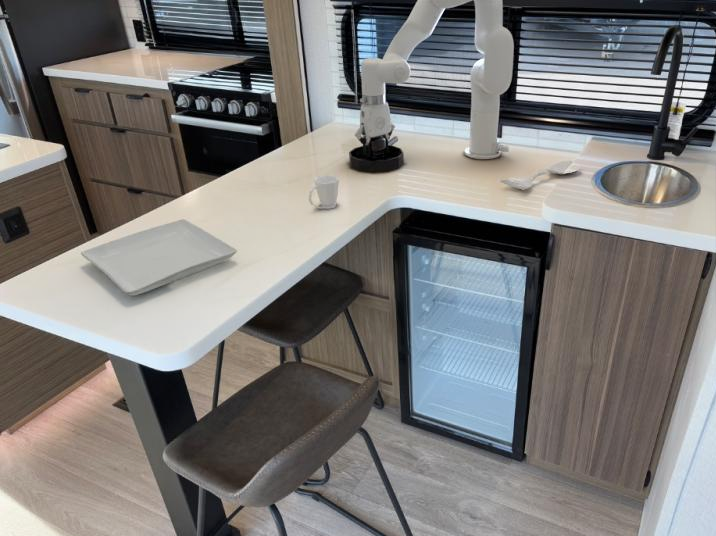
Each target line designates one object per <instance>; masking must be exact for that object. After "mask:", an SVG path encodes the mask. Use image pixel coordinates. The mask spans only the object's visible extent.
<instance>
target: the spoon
mask: <svg viewBox="0 0 716 536" xmlns="http://www.w3.org/2000/svg"><path fill="white" fill-rule="evenodd" d="M573 161H574V160H564V161H560V162H556V163H554V164H552V165H550V166H549V167H548V168H547V169H546V168H545V169H539V171H536V173H533V174H532V175H531V176H529V177H528V178H527V179H524V180H510V179H505V178H501V179H500V180H499V181H500V183H503V184H504V185H507V186H508V187H512V188H515V189H518V190H522V191H523V190H527V189H530V188H531V187H533V182H534V181H535V179H536V178H537V177H539V176H542V175H548V174H549V173H551V174H557V175H562V176H563V173H564V172H565V170H566V169H567V168H568V167H569V166H570V165H571V164H572V163H573Z"/></svg>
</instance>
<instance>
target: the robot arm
mask: <svg viewBox="0 0 716 536" xmlns="http://www.w3.org/2000/svg"><path fill="white" fill-rule="evenodd" d="M472 1H473V3H474V8H475V9H474V10H475V11H474V13H475V23H474V24H475V25H474V47H475V49H476V50H477V52H479V53H480V54H482V55H483V58H481V59H479V60H477V61H476V62H475V63H474V64H473V66H472V68H471V71H470V76H469V77H470V80H469V81H470V93H471V104H470V122H469V145H468V147H466V148H465V149H464V155H465V156H466V157H468V158H470V159H476V160H490V159H491V160H492V159H496V158H499V157H500V156H501V153H502V152H503V153H509V150H510V147H509V146H508V145H507V144H501V143H500V140H499V139H498V134H499V120H500V119H499V117H500V105H501V104H500V103H501V99H500V97H501V95H503V94H504V93H505V92H507V91H508V89H509V88H510V86H511V83H512V79H513V68H514V49H515V44H514V38H513V34H512V33H511V31H510V30H509V29H508V28H507V27H504V26H503V25H504V24H503V20H504V19H503V18H504V17H503V16H504V12H503V11H504V10H503V8H504V6H503V5H504V4H503V3H504V2H503V0H417V1H416V2H415V5H414V6H413V8H412V10H411V12H410V14H409V16H408V18H407V19H406V21H405V22H404V24H402V26H401V27H400V29H399V30H398V31H397V33H396V34H395V35H394V37H393V39H392V40H391V42H390V44H389V45H388V47H387V49H386V51H385V53H384V55H383V57H382V58H377V57H368V58H365V59H364V58H363V60H362V61H361V63H360V75H361V77H360V79H361V96H362V97H361V98H360V99H359V102H360V104H361V105H360V112H359V113H360V114H359V127H358V128H357V130H356V132H355V133H354V137H355V138H356V139H357V140H358V141H359V142H360V143H361V144H362V146H363V153H364V155H365V156H367V157H370V156H371V149H370V145H369V142H370V139H371V138H372V137H376V136H380V135H382V136H384V137H385V139H386V152H388V141H389V140H391V136H392V134H393V132H394V130H395V128H396V125H395V124H393V123H392V119H391V112H390V106H389V103H388V101H387V99H386V95H387V94H386V84H395V85H396V84H397V85H398V84H400V85H401V84H403V83H406V81H408V80H409V78H410V77H411V74H412V72H411V66H410V64H409V63H408V59H409V57H410V56H411V54H412V52H413V51H414V49H415V48H416V47H417V46H418V45H419V44H421V43H423V41H425V40H426V39H428V38H429V37H430V36H432V34H433V32H434V30H435V28H436V26H437V24H438V22H439V21H440V18H441V17H442V15H443V13H444V11H445V10H446V9H450V8H454V7H455V8H456V7H458V6H461V5H464V4H467V3H469V2H472ZM366 138H367V139H366Z"/></svg>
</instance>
